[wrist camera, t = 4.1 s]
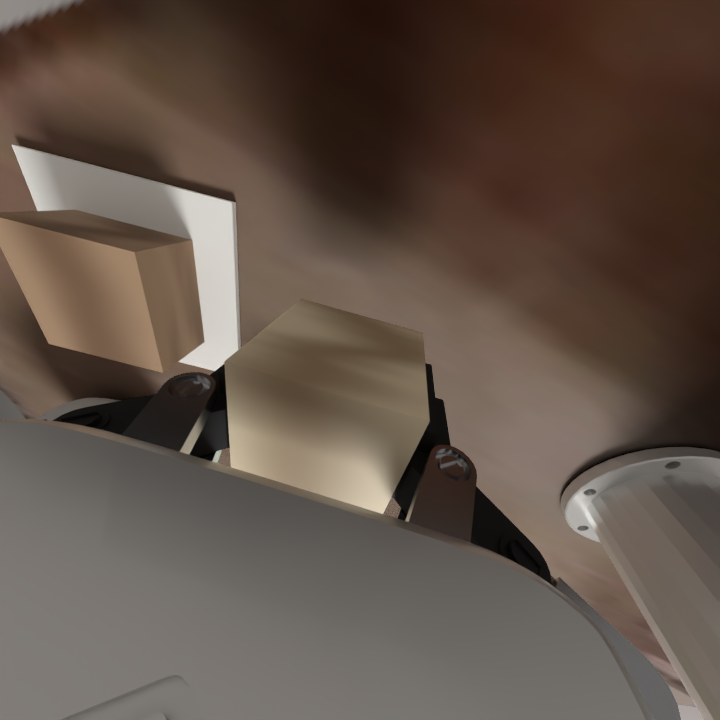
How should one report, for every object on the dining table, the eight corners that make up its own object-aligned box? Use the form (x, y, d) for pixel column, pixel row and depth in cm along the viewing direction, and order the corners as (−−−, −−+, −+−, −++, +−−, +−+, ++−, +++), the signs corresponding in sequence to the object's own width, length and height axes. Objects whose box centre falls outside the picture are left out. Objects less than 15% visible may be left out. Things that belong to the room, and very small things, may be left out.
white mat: (236, 202, 14) (231, 202, 14) (241, 374, 21) (239, 377, 21) (20, 145, 14) (11, 144, 14) (93, 336, 21) (88, 338, 20)
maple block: (422, 332, 10) (429, 421, 6) (387, 422, 13) (375, 528, 9) (301, 298, 10) (224, 361, 6) (290, 393, 13) (231, 483, 9)
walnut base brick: (192, 239, 15) (134, 252, 12) (204, 341, 19) (163, 372, 16) (75, 209, 15) (-17, 213, 12) (110, 317, 19) (48, 343, 16)
